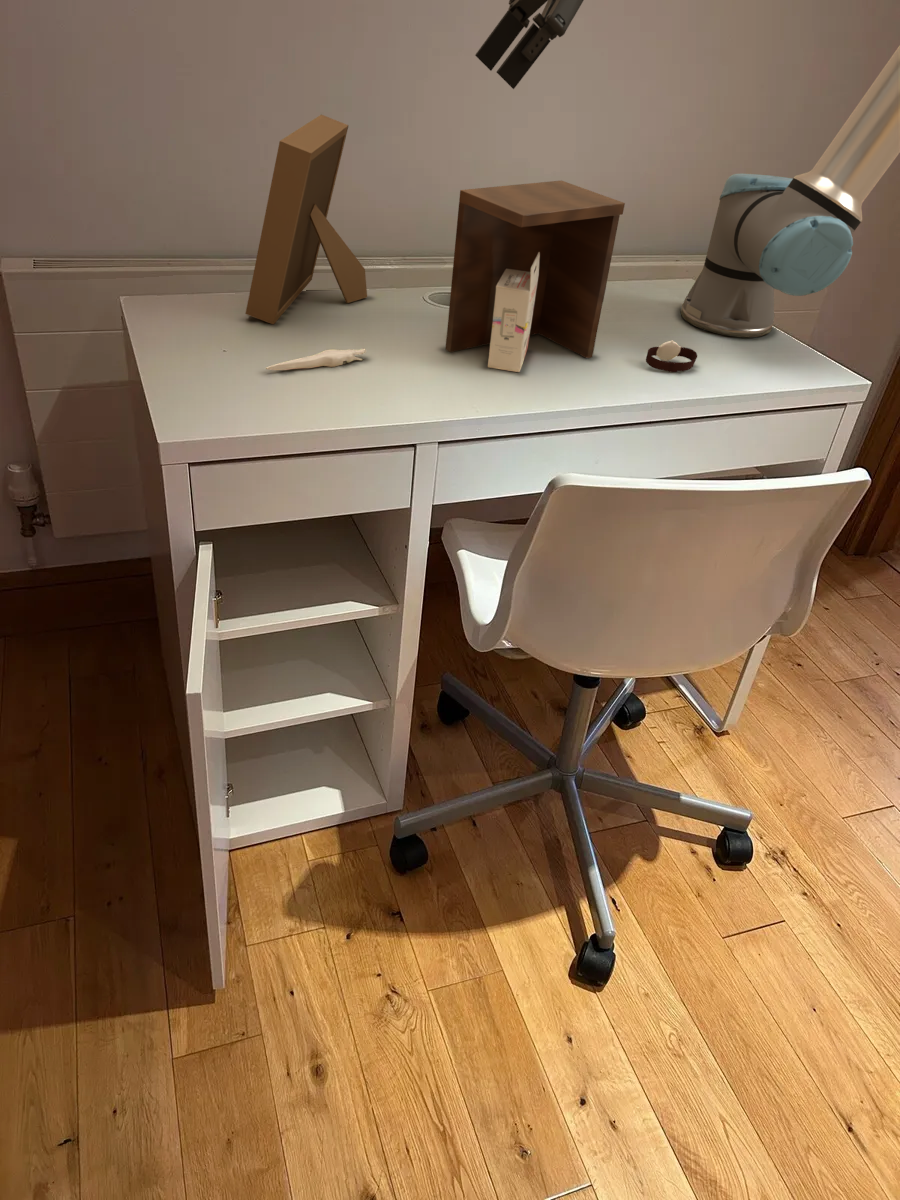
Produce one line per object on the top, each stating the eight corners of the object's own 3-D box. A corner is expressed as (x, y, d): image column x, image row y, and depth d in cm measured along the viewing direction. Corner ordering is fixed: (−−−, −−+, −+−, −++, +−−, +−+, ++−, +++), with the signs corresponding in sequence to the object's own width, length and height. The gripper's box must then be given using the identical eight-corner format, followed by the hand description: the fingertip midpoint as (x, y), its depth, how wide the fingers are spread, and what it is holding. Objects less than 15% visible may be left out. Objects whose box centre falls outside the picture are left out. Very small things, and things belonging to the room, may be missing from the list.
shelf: (538, 329, 145) (561, 180, 132) (594, 358, 137) (625, 203, 124) (445, 349, 135) (460, 189, 122) (500, 381, 127) (522, 215, 114)
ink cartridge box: (495, 346, 138) (507, 245, 129) (527, 351, 137) (542, 250, 128) (485, 367, 131) (498, 262, 122) (519, 373, 130) (535, 268, 121)
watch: (687, 361, 140) (693, 338, 138) (699, 373, 136) (705, 350, 134) (639, 360, 139) (645, 336, 136) (650, 372, 135) (655, 349, 133)
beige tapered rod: (360, 355, 130) (361, 343, 129) (369, 362, 129) (370, 349, 127) (261, 370, 123) (261, 357, 122) (269, 378, 121) (269, 365, 120)
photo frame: (245, 320, 137) (238, 135, 122) (287, 276, 154) (284, 109, 139) (343, 334, 136) (347, 149, 121) (373, 288, 153) (381, 122, 138)
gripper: (563, -116, 115) (454, 36, 123) (626, -115, 96) (491, 65, 104) (603, -68, 119) (494, 76, 127) (671, -58, 100) (538, 112, 108)
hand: (493, 71), depth 116 cm, fingers open, 13 cm apart
